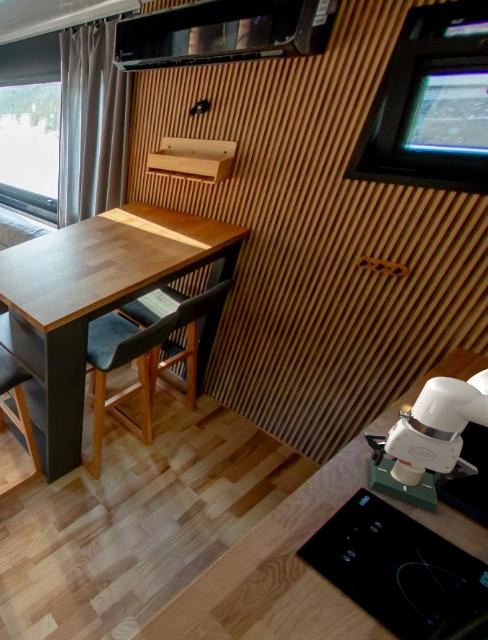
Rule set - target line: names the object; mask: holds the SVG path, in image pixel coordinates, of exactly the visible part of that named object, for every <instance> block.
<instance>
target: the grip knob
mask: <svg viewBox="0 0 488 640" xmlns="http://www.w3.org/2000/svg"><path fill="white" fill-rule="evenodd" d="M395 462H396V463H395V465H394V467H393V469H392V471H391V475H392V476H393V477H394V478H395V479H396V480H397V481H399V482H401V483H403V484H406V485H410V486H415V485H417V484H418V482H419V481H420V479H421V477H422V476H423V474H424V472H426V468H425V467H422V466H419V465H416V464H413V463H410V462H407V461H405V460H402V459H399V458H397V459H396V461H395Z"/></svg>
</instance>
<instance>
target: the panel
mask: <svg viewBox="0 0 488 640" xmlns="http://www.w3.org/2000/svg"><path fill="white" fill-rule="evenodd" d="M395 463H396V461H394V460H391V459H389V458H385V457H383V459H382V461H381V463H380V465H379V466H375V465H374V460H372V459H371V458H370V463H369V464H370V465H369V467H370V468H369V469H370V489H371V490H373V491H376V492H379V493H382V494H384V495H386V496H389V497H392V498H395V499H397V500H400V501H402V502H404V503H407V504H410V505H412V506H415V507H418V508H420V509H422V510H425V511H428V512H430V513H434V512H435V511H436V509H437V508H438V507H439V501H438V496H437V490H436V489H437V488H435V487H434V485H433V479H432V478H433V476H434V474H432V473H429V472H426V471H425V472H424V474H423V476H422V477H421V479H420V481H419V482H418V484H417V485H415V486H410V485H406V484H403V483H401V482H399V481H397V480H396V479H395V478H394V477H393V476H392V475H391V471H392V469H393V467H394V465H395Z"/></svg>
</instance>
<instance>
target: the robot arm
mask: <svg viewBox="0 0 488 640" xmlns="http://www.w3.org/2000/svg"><path fill="white" fill-rule="evenodd" d="M398 416H399V417H400V419H399V420H398V421H397V422H396V423H395V424H394V425H393V426H392V427H391V428H390V430H389V431H388V433H387V432H375V431H364V438H365V440H366V442H367V445H368V446H369V447H370V448H371V449H372V450H373V451H372V453H371V456H370V460H371V459H372V460H374V465H375V466H379V465H380V463H381V461H382V459H383V458H385V457H384V455H386V454H387V455H389V456H392V457H393V458H397V459H398V458H399V459H402V460H405V461H407V462H410V463H413V464H416V465H419V466H422V467H424V468H425V469H428V470H431V471H434V472H435V473H434V474H433V478H432V479H433V485H434V487H435V489H437V490H438V489H440V488H441V487H442V486H444V487H445V486H446V484H447V483H448V482H449V480H451V481H452V480H454V479H459V478H461V479H463V478H467V477H469V476H470V477H471V476H474V475H478V474H479V470H478V467H476V466H475V465H473V464H471V463H469V462H468V461H467V460H465V459H463V458H462V457H460V456H461V452H462V448H463V445H464V440H463V438H462V436H461V435H462V433H463V431H464V430H465V429H466V427H467V425H468V423H469V422H471V423H474V424H478V425H481V426H483V427H486V428H488V368H487V369H485V370H482V371H480V372H478V373H476V374H474V375H473V376H472V377H470V378H469V379H468V380H467V381H464V380H461V379H458V378H453V377H447V376H436V377H432V378H430V379H428V380H427V381H426V383H425V384H424V386H423V388H422V390H421V392H420V394H419V395H418V397H417V399H416V401H415V403H414V404H413V407H412V408H410V409H409V411H402V410H400V411H399V412H398ZM376 440H378V441H379V440H380V441H382V442H377V441H376ZM456 465H457V466H459V467H455V466H456Z"/></svg>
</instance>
